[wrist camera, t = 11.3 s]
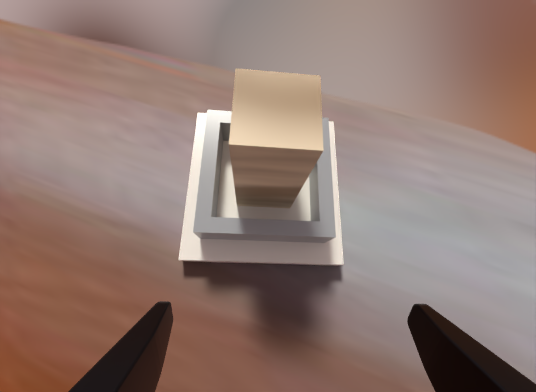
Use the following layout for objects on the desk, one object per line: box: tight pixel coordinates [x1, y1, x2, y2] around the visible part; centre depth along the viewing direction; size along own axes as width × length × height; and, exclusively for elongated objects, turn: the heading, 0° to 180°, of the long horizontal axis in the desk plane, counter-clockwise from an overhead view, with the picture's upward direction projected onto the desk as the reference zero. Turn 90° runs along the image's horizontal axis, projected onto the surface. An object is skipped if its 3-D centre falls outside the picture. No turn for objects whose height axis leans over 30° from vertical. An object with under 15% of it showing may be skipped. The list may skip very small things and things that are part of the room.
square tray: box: [179, 110, 344, 266], centre depth 19 cm, size 12×12×4 cm
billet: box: [229, 69, 324, 208], centre depth 16 cm, size 4×4×9 cm
